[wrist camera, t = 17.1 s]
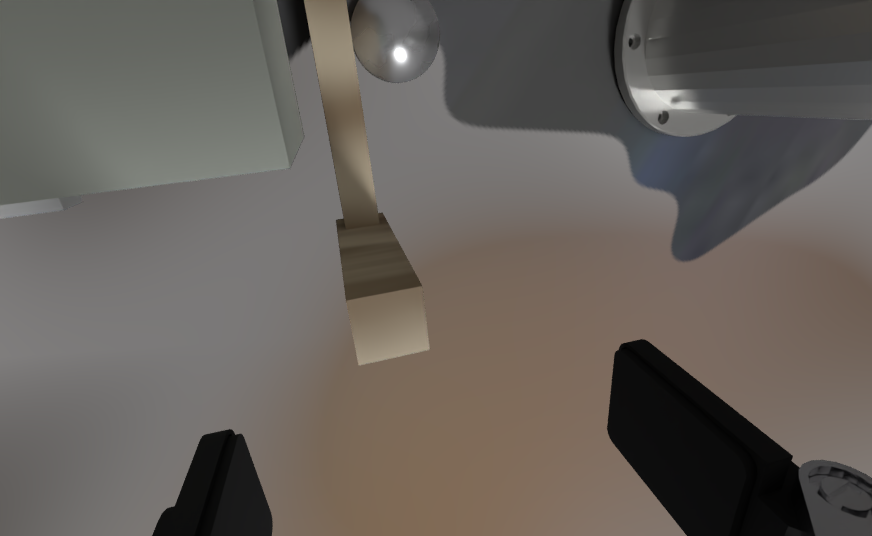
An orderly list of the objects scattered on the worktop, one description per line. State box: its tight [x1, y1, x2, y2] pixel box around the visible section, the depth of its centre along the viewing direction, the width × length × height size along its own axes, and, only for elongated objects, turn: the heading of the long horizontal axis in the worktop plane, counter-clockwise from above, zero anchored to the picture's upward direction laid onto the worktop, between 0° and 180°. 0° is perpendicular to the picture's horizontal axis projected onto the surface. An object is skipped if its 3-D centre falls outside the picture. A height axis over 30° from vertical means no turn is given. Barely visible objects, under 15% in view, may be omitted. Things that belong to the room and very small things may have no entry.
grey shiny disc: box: [350, 0, 440, 83], centre depth 24 cm, size 5×5×1 cm
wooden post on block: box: [304, 0, 429, 365], centre depth 20 cm, size 16×3×12 cm, turn 5°
